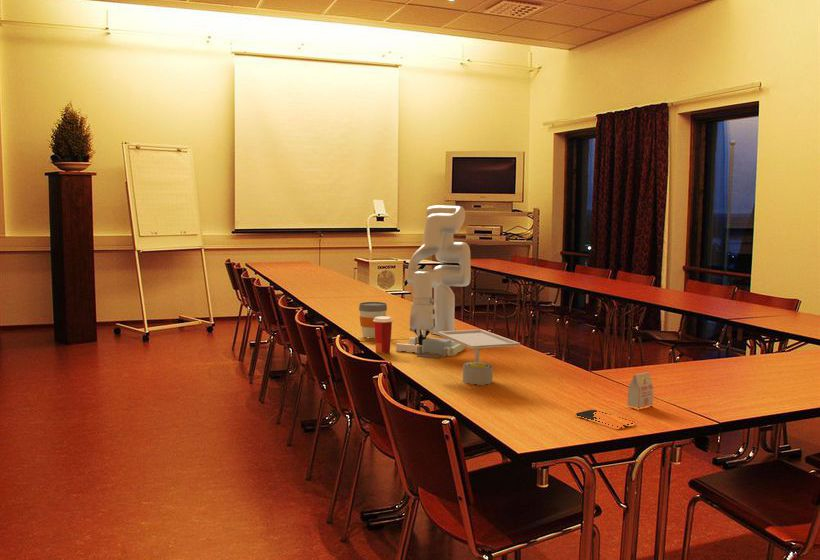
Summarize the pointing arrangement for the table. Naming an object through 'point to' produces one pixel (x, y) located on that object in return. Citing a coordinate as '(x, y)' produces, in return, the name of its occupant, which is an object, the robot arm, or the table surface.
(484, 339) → the solar panel model
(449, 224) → the robot arm
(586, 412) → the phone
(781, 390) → the table surface
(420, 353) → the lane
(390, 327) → the paper cup
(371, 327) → the reusable coffee cup
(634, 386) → the grey tall gabled block
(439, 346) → the block
